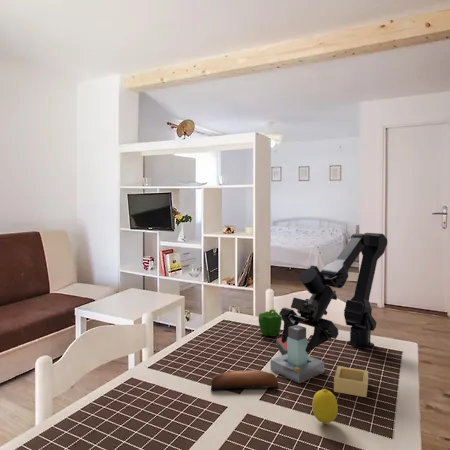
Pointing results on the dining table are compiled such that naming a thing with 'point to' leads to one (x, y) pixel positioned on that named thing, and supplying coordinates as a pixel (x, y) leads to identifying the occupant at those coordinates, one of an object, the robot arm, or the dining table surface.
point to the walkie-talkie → (281, 346)
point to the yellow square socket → (351, 381)
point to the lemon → (324, 406)
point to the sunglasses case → (243, 380)
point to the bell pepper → (270, 323)
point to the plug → (296, 345)
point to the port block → (297, 368)
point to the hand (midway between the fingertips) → (294, 346)
